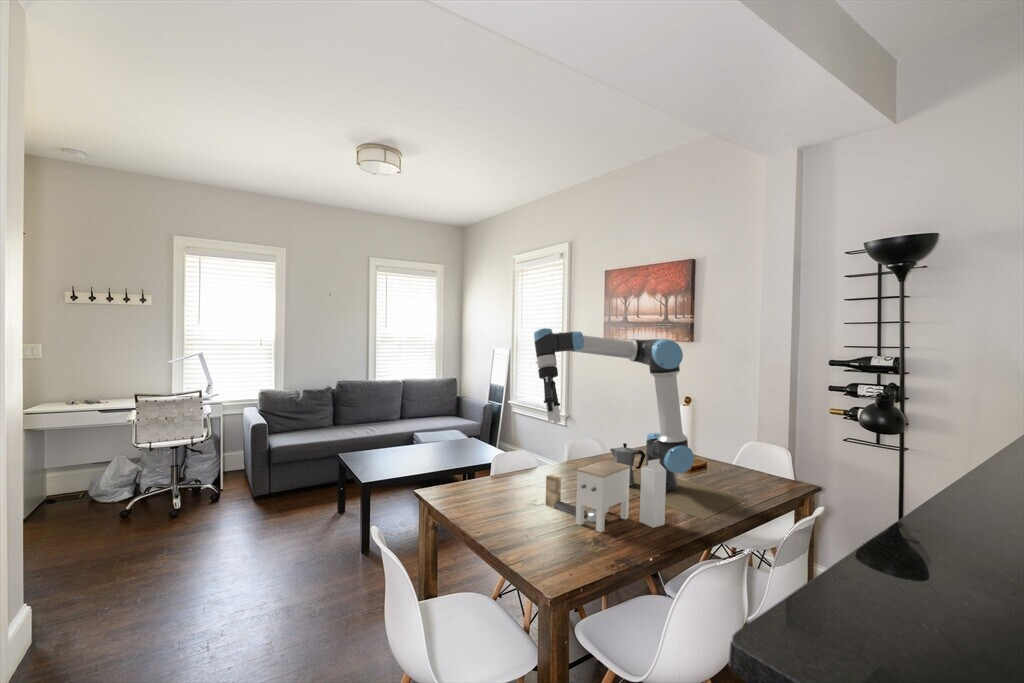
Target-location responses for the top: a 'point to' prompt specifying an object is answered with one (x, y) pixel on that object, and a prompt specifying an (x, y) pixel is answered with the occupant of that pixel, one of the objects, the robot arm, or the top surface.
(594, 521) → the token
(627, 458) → the coffeepot
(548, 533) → the top surface
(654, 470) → the milk
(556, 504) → the beige and grey pieces
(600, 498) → the cabinet
